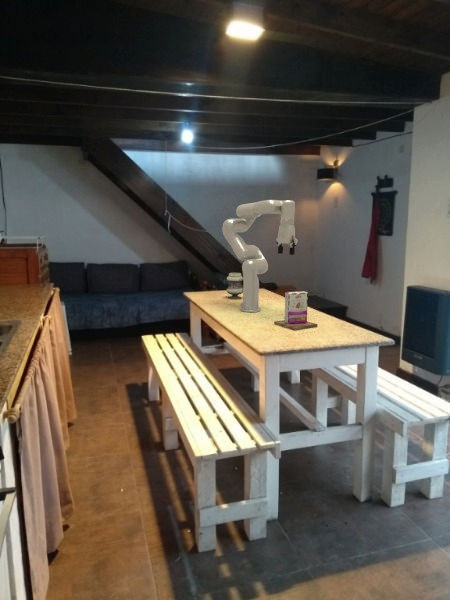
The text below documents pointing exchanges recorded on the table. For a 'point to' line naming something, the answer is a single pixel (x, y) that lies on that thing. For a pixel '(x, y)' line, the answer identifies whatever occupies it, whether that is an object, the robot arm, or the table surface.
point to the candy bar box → (296, 307)
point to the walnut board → (296, 325)
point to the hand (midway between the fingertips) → (286, 254)
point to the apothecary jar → (235, 285)
